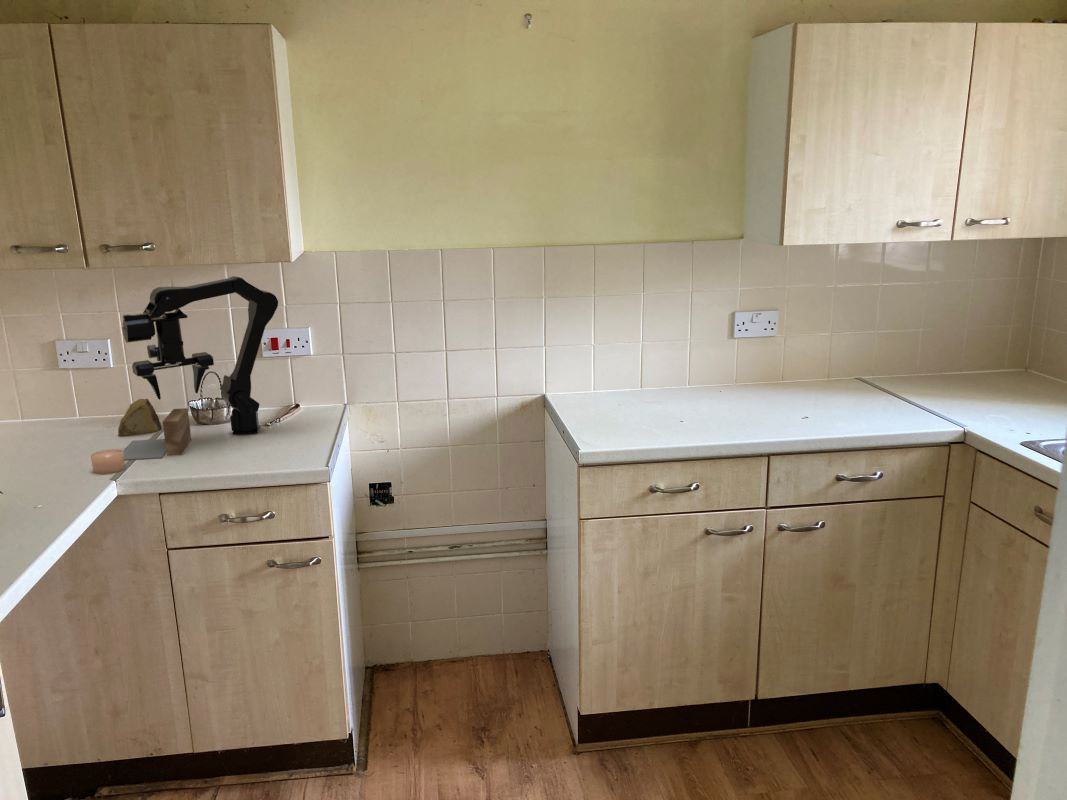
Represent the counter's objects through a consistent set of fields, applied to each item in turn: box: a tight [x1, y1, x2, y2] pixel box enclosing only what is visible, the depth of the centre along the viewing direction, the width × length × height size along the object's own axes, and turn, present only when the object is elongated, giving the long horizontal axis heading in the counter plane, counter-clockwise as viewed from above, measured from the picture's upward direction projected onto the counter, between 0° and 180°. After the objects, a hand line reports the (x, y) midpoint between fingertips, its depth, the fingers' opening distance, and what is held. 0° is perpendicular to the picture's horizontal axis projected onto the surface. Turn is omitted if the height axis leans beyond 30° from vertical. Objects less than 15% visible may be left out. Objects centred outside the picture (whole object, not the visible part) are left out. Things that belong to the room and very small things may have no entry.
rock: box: [117, 398, 163, 437], centre depth 230 cm, size 11×9×10 cm
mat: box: [122, 438, 167, 461], centre depth 215 cm, size 11×16×1 cm
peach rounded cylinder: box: [90, 448, 126, 475], centre depth 201 cm, size 7×7×4 cm
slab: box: [162, 407, 192, 457], centre depth 216 cm, size 4×12×9 cm, turn 10°
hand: (178, 396), depth 218 cm, fingers open, 9 cm apart
